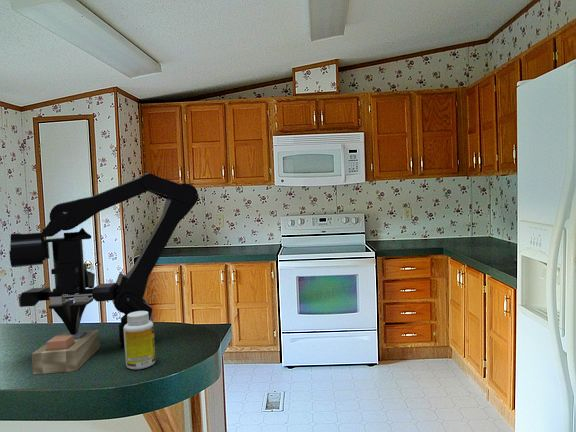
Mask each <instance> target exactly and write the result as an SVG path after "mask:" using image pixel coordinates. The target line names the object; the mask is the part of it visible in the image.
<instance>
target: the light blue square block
mask: <svg viewBox="0 0 576 432" xmlns="http://www.w3.org/2000/svg"><path fill="white" fill-rule="evenodd" d="M78 331H79V330H78ZM78 331H77V334H75V335H74V339H81V338H82V337H83V336H84V335H86V331H87V330H80V331H79V332H78ZM67 332H68V333H67V334H66V335H71V334H70V332H69V331H67Z"/></svg>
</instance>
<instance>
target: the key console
mask: <svg viewBox="0 0 576 432" xmlns="http://www.w3.org/2000/svg"><path fill="white" fill-rule="evenodd" d="M85 331H86V335H84V336H83V337H82V338H81V339H74V345H72V346H71V347H70V348H69V349H65V350H52V351H47V342H46V343H44V345H42V346H41V347H39V348H38V349H37V350H35V351H34V352H31V361H32V373H33V374H32V375H44V374H54V373H69V372H77V371H78V370H79V369H80V368H81V367H82V366H83V365H84V364H85V363H86V362H87V361H88V360H89V359H90V358H91V357H92V356H93V355H94V354H95V353H96V352H97V351H98V350H100V348H101V347H100V346H101V345H100V344H101V343H100V331H99V329H94V330H93V329H92V330H91V329H90V330H85ZM68 332H69V331H67V332H66V331H65V332H59V334H57V335H56V336H64V335H66V334H67V333H68ZM77 332H79V330H78V331H77Z"/></svg>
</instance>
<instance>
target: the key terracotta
mask: <svg viewBox="0 0 576 432" xmlns="http://www.w3.org/2000/svg"><path fill="white" fill-rule="evenodd" d="M46 343H47V351H52V350H65V349H69V348H70V347H71V346H72V345H74V335H64V336H57V335H54V336H53V337H52V338H50V339H48V341H46Z"/></svg>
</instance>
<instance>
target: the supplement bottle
mask: <svg viewBox="0 0 576 432" xmlns="http://www.w3.org/2000/svg"><path fill="white" fill-rule="evenodd" d="M154 329H155V327H154V322H152V321H150V320H149V314H148V312H147V311H136V312H132V313H129V314H128V315H127V324H126V325H125V326H124V345H125V347H124V357H125V366H126V367H127V368H128V369H130V370H142V369H146V368H149V367H151V366H153V365H154V364H155V363H156V361H157V360H156V347H155V346H156V343H155V338H154V335H155V331H154Z"/></svg>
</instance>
